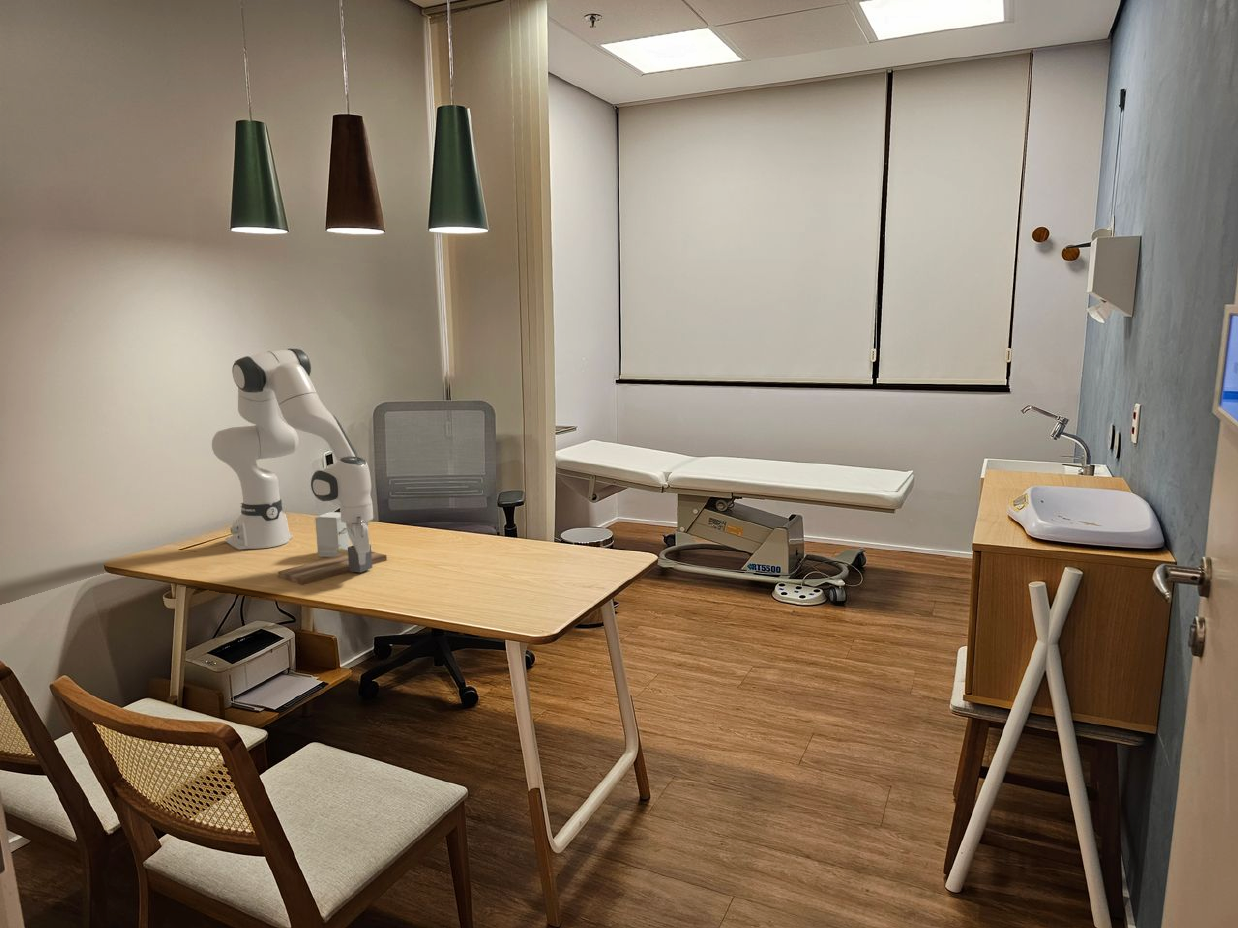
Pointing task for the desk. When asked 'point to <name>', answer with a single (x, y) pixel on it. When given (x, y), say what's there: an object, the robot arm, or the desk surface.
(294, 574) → the plank
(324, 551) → the supplement box
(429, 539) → the desk surface
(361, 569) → the gray-headed mallet
